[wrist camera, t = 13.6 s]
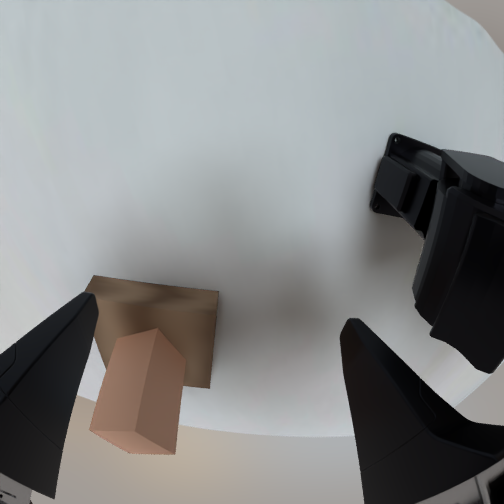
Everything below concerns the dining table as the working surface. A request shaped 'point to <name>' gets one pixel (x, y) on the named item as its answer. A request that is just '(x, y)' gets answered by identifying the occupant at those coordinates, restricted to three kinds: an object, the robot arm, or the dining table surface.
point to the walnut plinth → (158, 320)
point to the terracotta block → (141, 395)
